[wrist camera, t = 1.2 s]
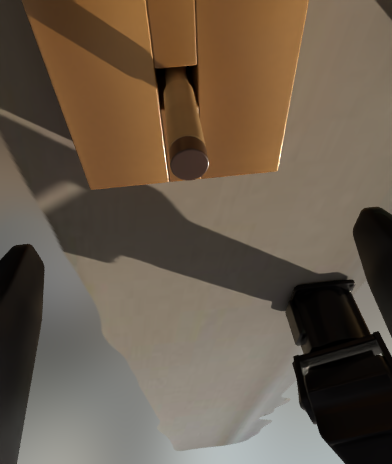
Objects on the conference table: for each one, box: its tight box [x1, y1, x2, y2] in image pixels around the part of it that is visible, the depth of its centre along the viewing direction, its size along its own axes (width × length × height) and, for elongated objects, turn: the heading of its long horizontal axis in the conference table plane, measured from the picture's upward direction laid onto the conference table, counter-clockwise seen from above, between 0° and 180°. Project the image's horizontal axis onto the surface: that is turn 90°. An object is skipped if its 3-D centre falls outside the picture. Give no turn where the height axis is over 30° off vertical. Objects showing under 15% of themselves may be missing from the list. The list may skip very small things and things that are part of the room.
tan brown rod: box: [164, 66, 209, 180], centre depth 14 cm, size 1×1×9 cm
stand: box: [21, 0, 309, 190], centre depth 16 cm, size 10×10×4 cm
